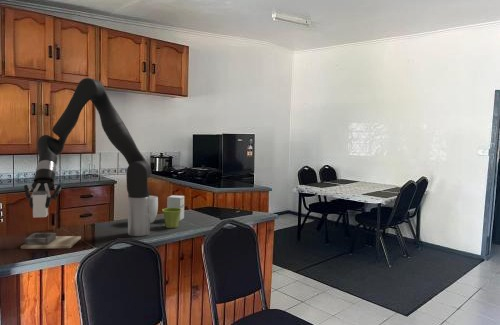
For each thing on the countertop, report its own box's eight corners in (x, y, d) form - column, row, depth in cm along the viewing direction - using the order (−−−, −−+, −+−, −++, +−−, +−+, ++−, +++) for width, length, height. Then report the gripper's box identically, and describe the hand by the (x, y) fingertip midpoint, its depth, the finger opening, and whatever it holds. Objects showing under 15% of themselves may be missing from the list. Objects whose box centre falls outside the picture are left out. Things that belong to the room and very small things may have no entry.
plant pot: (175, 230, 181) (175, 212, 181) (158, 227, 184) (158, 210, 184) (184, 225, 190) (185, 208, 189) (168, 223, 193) (168, 207, 192)
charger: (48, 214, 155) (47, 190, 154) (45, 217, 150) (45, 192, 150) (35, 215, 153) (35, 190, 153) (32, 217, 149) (32, 192, 148)
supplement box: (179, 221, 199) (180, 197, 198) (166, 220, 200) (166, 197, 199) (184, 218, 206) (184, 195, 205) (171, 217, 207) (171, 194, 206)
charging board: (80, 238, 162) (80, 230, 162) (69, 248, 149) (69, 239, 148) (36, 238, 160) (36, 230, 160) (20, 248, 146) (20, 239, 146)
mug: (140, 227, 184) (141, 200, 183) (125, 224, 190) (125, 198, 189) (162, 221, 197) (162, 196, 196) (146, 218, 203) (146, 194, 202)
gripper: (24, 167, 155) (16, 202, 145) (63, 167, 160) (58, 201, 149) (28, 179, 161) (20, 212, 150) (65, 178, 165) (60, 211, 155)
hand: (39, 206), depth 150 cm, fingers closed on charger, 4 cm apart
